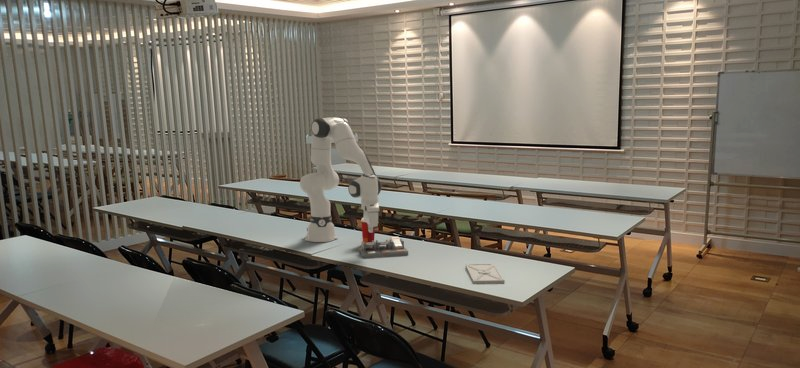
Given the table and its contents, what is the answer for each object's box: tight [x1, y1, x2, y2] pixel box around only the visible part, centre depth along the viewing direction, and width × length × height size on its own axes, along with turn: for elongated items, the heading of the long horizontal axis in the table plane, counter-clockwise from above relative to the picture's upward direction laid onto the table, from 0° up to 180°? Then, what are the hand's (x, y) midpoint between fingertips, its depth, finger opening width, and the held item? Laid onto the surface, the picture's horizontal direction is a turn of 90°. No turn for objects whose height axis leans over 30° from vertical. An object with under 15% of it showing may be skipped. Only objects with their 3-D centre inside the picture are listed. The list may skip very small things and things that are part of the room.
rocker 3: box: [390, 236, 403, 249], centre depth 309 cm, size 10×4×1 cm, turn 13°
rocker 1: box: [365, 242, 374, 247], centre depth 305 cm, size 10×4×1 cm, turn 14°
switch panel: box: [359, 238, 409, 259], centre depth 305 cm, size 14×23×6 cm, turn 104°
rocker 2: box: [378, 240, 389, 246], centre depth 307 cm, size 10×4×1 cm, turn 14°
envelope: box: [465, 263, 505, 284], centre depth 267 cm, size 24×2×14 cm
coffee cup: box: [360, 216, 376, 243], centre depth 322 cm, size 8×8×15 cm
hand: (370, 232), depth 300 cm, fingers closed
